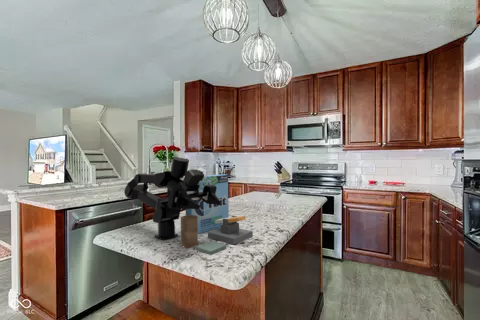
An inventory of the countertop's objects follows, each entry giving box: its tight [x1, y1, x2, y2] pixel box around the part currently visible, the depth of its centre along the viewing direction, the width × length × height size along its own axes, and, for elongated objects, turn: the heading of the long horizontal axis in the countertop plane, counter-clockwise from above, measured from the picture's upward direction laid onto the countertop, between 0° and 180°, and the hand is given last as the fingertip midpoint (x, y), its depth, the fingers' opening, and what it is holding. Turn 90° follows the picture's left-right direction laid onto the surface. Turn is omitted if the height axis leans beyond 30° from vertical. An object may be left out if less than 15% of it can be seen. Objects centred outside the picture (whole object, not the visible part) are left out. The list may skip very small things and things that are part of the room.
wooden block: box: [180, 214, 199, 249], centre depth 82 cm, size 4×4×10 cm
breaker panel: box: [207, 215, 254, 245], centre depth 90 cm, size 13×11×7 cm
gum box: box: [185, 173, 230, 234], centre depth 101 cm, size 20×5×23 cm, turn 134°
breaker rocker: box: [215, 215, 246, 224], centre depth 90 cm, size 12×4×1 cm, turn 51°
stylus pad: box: [195, 240, 227, 256], centre depth 78 cm, size 7×7×1 cm
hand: (210, 205), depth 76 cm, fingers open, 9 cm apart
